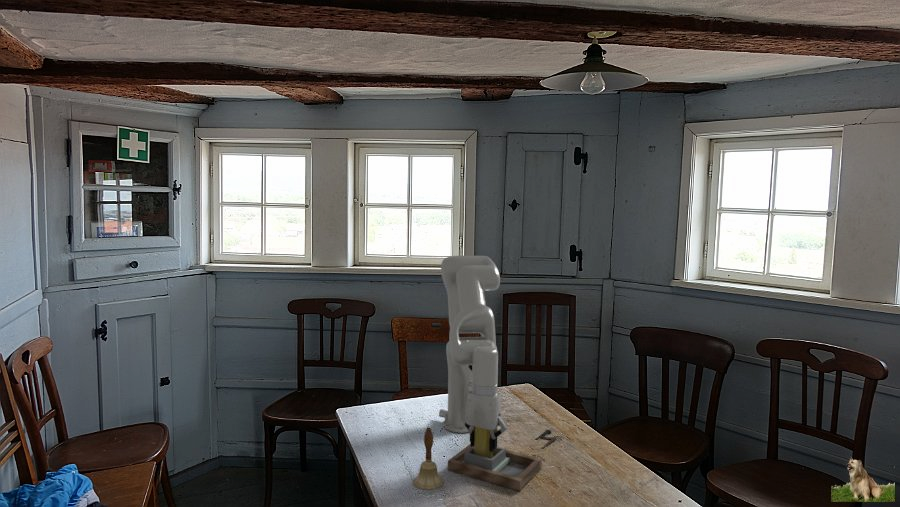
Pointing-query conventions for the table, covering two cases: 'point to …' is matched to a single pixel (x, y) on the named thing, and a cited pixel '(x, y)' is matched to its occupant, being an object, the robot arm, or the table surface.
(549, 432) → the hacksaw
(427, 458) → the hand bell
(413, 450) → the table surface
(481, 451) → the vase
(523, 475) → the open wooden box
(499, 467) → the square serving tray
